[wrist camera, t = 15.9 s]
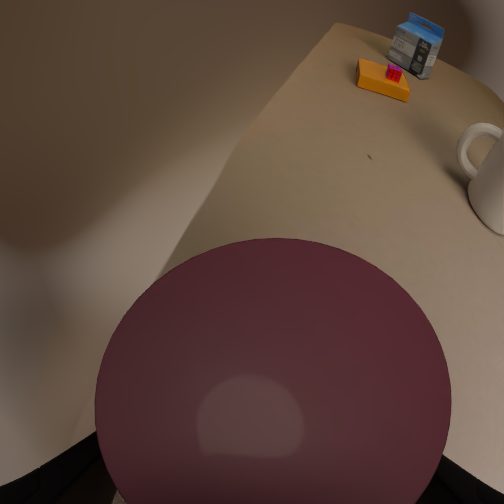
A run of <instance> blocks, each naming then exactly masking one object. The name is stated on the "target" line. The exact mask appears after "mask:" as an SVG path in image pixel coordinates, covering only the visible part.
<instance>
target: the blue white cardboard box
mask: <svg viewBox="0 0 504 504" xmlns="http://www.w3.org/2000/svg"><path fill="white" fill-rule="evenodd" d="M420 23H424V24H425V23H426V24H427V25H428V26H429V27H431V28H432V30H429V29H428V28H426V27H424V26H422V25H420ZM444 30H445V29H443V28H441V27H440V26H438V25H435V24H434V23H432V22H430V21H428V20H426V19H424V18H422V17H420V16H417V15H415V14H413V13H411V12H410V15H409V20H408V22H406V23H403V24H401V25H398V26H397V28H396V32H395V35H394V38H393V41H392V45H391V48H390V51H389V55H388V59H389V60H391V61H393V62H395V63H396V64H398V65H400V66H401V67H403V68H405V69H406V70H408V71H409V72H411V73H412V74H414V75H416V76H417V77H419V78H420V79H428V78H429V75H430V73H431V70H432V67H433V65H434V62H435V59H436V56H437V54H438V51H439V48H440V45H441V43H442V39H443V35H444Z"/></svg>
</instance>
